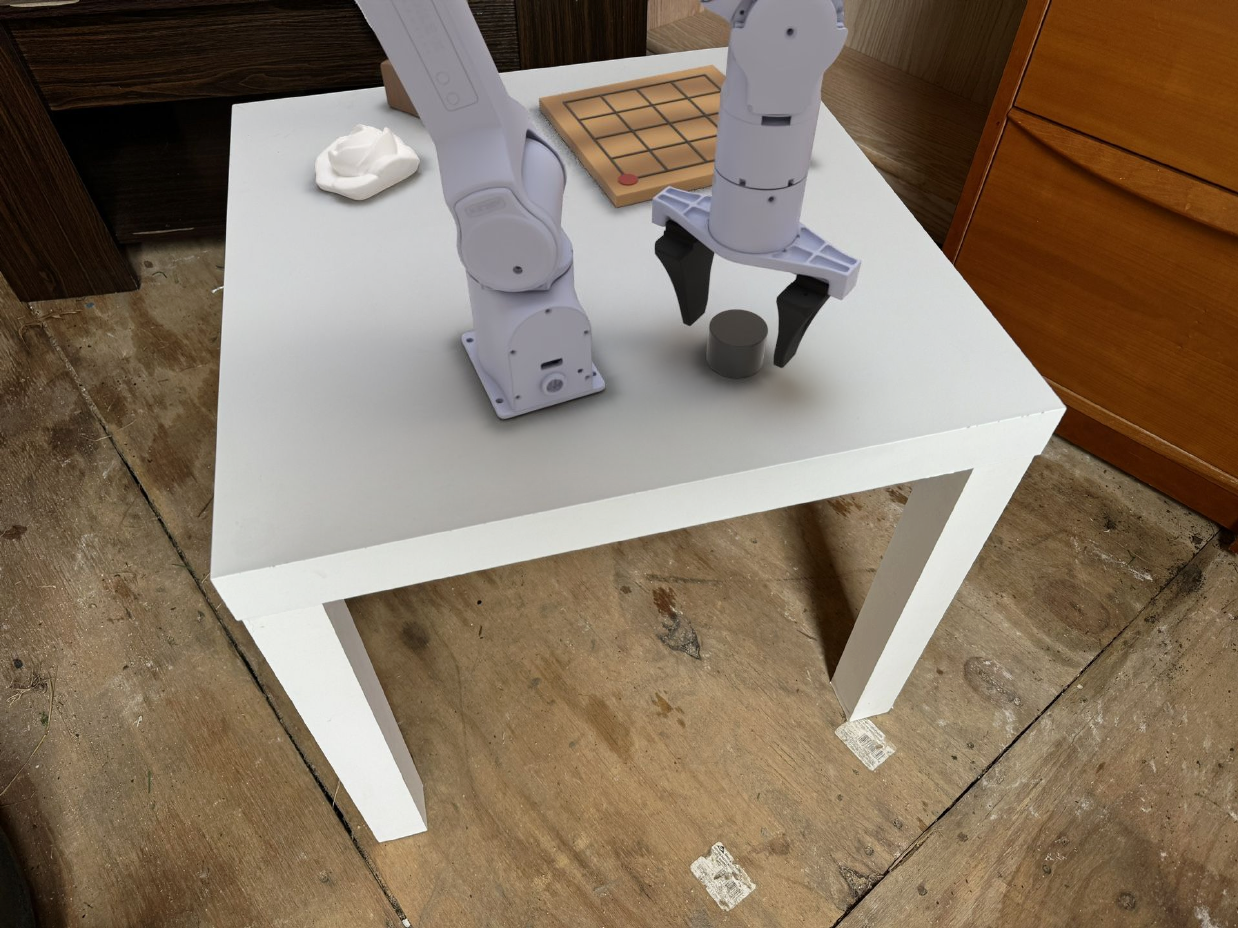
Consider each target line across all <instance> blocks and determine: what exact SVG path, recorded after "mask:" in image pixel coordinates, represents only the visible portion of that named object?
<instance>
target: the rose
mask: <svg viewBox="0 0 1238 928" xmlns="http://www.w3.org/2000/svg"><path fill="white" fill-rule="evenodd" d="M420 162H421V159H420V158H419V157H418V155H417V153H416V152H415V151H414V150H413V148H412V147H410V146H408V145H406V144H405V143H404V141H403V140H402V139H401V138H400V137H399V136H398V135H396V134H394V133H393V132H392V130H391V129H390V128H389V127H384V128H383V130H380V128H376V127H374V126H371V125H368V126H367V125H365V124H362V123H358V124H356V125H354V127H353V128H352V130H351V132H350V134H349V135H342V136H340V137H337V138H336V139H335V140H334V141H333V142H332V143H331V144H330V145H329V146H328V147H326V148H325V149H324V150H323V151H322V152H321V153H320V154H319V155H318V156H317V157H316V160H315V162H314V172H315V175H316V176H315V183H316V185H317V186H318V187H319V188H320V189H321V190H322V191H326V192H330V193H335V194H338V195H340V196H344V197H346V198H348V199H351V200H355V201H364V200H366V199H369V198H371V197H373V196H375V195H377V194H379V193H381V192H382V191H384V190H387V189H388V188H390V187H392V186H394V185H396V184H399V183H400V182H403V181H404V180H406V179H408V178H409V177H410V176H412V175H413V174H414V173H415V172H416V171H418V169H419V168H418V166H419V164H420Z"/></svg>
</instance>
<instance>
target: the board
mask: <svg viewBox="0 0 1238 928" xmlns="http://www.w3.org/2000/svg"><path fill="white" fill-rule="evenodd" d="M725 76H726V74H724V73H723V72H722V71H720V69H718V68H717V66H715V65H714V64H709V65H703V66H699V67H693V68H688V69H684V70H678V71H673V72H668V73H663V74H657V75H652V76H647V77H641V78H636V79H631V80H626V81H621V82H620V81H619V82H616V83H615V82H614V83H611V84H606V85H605V84H604V85H599V86H595V87H590V88H584V89H579V90H575V91H574V90H573V91H569V92H563V93H559V94H554V95H549V96H543V97H539V98H538V104H539V105H538V107H539V108H538V109H539V110H540V111H541V113H542V115H544V117H545V118H546V119H547V121H548V122H549V123H550V124H551V126H552V127H553V128H554V130H555V131H556V133H558V135H559V136H560V137H561V139H562V140H563V141H564V143H565V144H566V145H567V146H568V148H569V149H570V150H571V151H572V153H573V154H574V155H575V157H576V158H577V159H578V160H579V161H580V163H581V164H582V165H583V167H584V168H585V169H586V171H587V172H588V173H589V174H590V176H591V177H592V178H593V179H594V181H595V182H596V183H597V185H598V186H599V187H600V189H601V190H602V191H603V192H604V193H605V195H606V196H607V197H608V199H609V200H610V201H611V202H612V204H613V205H614V206H615V208H621V207H626V206H629V205H633V204H634V205H635V204H638V203H642V202H647V201H650V200H652V199H653V198H654V197H655V196H656V195H658V194H659V193H660V192H662V191H663V190H664V189H666V188H667V187H668V186H670V187H673V188H676V189H679V190H683V191H687V192H690V191H693V190H698V189H702V188H706V187H710V186H711V187H712V183H713V172H714V161H715V150H716V139H717V128H718V116H719V105H720V94H721V88H722V85H723V83H724V80H725Z"/></svg>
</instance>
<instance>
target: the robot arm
mask: <svg viewBox="0 0 1238 928" xmlns="http://www.w3.org/2000/svg"><path fill="white" fill-rule="evenodd" d="M697 1H698V2H699V3H700V5H701V6H702V7H703V8H705V9H706V10H707V11H709V12H711V13H714V14H716V15H718V16H720V17H722V18H723V19H724V20H726V21H727V22H728V23H729V29H730V33H729V34H730V35H729V38H728V44H727V55H726V66H725V67H726V68H725V80H724V83H723V85H722V88H721V94H720V105H719V116H718V128H717V139H716V150H715V161H714V172H713V183H712V185H711V195H709V194H704V193H698V192H691V191H683V190H679V189H676V188H673V187H670V186H668V187H667V188H666V189H664V190H663V191H662V192H660V193H659V194H658V195H656V196H655V197H654V198H653V199H651V200H652V202H651V223H652V224H654V225H656V226H659V227H662V228H665V229H664V230H663V234H662V235H661V236H660V237H659V238H657V239H656V241H655V242H654V255H655V256H656V258H657V259H658V260H659V262H660V263H661V265H662V266H663V268H664V270H665V272H666V273H667V275H668V277H669V279H670V282H671V284H672V287H673V290H674V293H675V296H676V300H677V303H678V306H679V311H680V315H681V319H682V324H684V325H686V326H688V327H691V326H693V325H694V324H695V323H696V322H697V321H698V320H699V319H700V318H701V317H703V315H705V313H706V309H707V306H708V302H709V292H710V284H711V283H710V281H711V273H712V267H713V261H714V257H715V254H716V256H718V257H721V258H722V259H724V260H726V261H728V262H732V263H736V264H740V265H744V266H749V267H750V266H751V267H756V268H762V269H767V270H773V271H779V272H785V273H790V274H792V275H795V279H794V280H793V281H791V282H790V283H789V284H787V286H786V287H785V288H784V289H783V290H782V291H781V292H780V293H779V294H778V295H777V296H776V300H775V304H776V308H777V315H778V320H777V321H778V322H777V323H778V329H777V337H776V342H775V345H774V346H775V347H774V351H773V358H772V360H773V361H772V362H773V366H775V367H777V368H780V369H784V368H785V367H786V365H788V364H789V362H790V361H791V360H792V359H793V358H794V357H795V356H796V355H797V352H798V349H799V347H800V344H801V341H802V340H803V338H804V336H805V334H806V333H807V330H808V329H809V327H810V325H811V324H812V322H813V320H814V319H815V318H816V316H817V314H818V313H819V312H820V311H821V309H822V308H823V306H824V305H825V304H826V303H827V301H828V300H829V299H830V297H831V298H834V299H837V300H839V301H843V300H844V299H845V298H846V297H847V296H848V295H849V294H850V293H851V292H852V290H853V289H854V288H855V287H856V286H857V281H858V277H859V273H860V270H861V265H862V260H861V259H859V258H857V257H854V256H852V255H850V254H848V253H846V252H844V251H843V250H841V249H839V248H838V247H836V246H835V245H833V244H832V243H830V242H829V241H828V240H827V239H825V238H823V237H822V236H821V235H819V234H818V233H816V232H815V231H814V230H812V229H810V228H809V227H808V226H806V224H803V223H802V222H801V221H800V220H801V215H802V208H803V203H804V197H805V193H806V185H807V181H808V174H809V170H810V166H811V165H810V164H811V159H812V154H813V148H814V141H815V136H816V131H817V126H818V120H819V114H820V108H821V103H822V93H821V91H822V85H823V80H824V75H825V72H826V71H827V70H828V69H829V68H830V67H831V66H832V65H833V63H835V61H836V60H837V58H838V57H839V55H840V54H841V52H842V50H843V48H844V46H845V44H846V41H847V38H848V34H849V29H848V28H847V27H845V12H844V7H845V4H844V1H843V0H697ZM357 2H358V4H359V6H360V7H361V10H362V11H363V13H364V15H365V17H366V19H367V21H368V23H369V25H370V27H371V29H372V30H373V32H374V34H375V36H376V38H377V40H378V41H379V43H380V46H381V47H382V50H383V51H384V53H385V55H386V57H387V58H388V59H389V60H390V62H391V64H392V66H393V68H394V69H395V71H396V73H397V75H398V77H399V79H400V81H401V83H402V84H403V86H404V88H405V90H406V92H407V94H408V96H409V98H410V99H411V101H412V103H413V105H414V107H415V109H416V111H417V112H418V114H419V116H420V117H419V118H420V120H421V122H422V123H423V126H424V127H425V129H426V131H427V133H428V135H429V137H430V139H431V141H432V142H433V144H434V147H435V151H436V157H437V162H438V163H437V164H438V169H439V175H440V182H441V188H442V194H443V198H444V202H445V205H446V207H447V209H448V210H449V212H450V214H451V217H452V218H453V220H454V223H455V228H456V251H457V255H458V258H459V261H460V262H461V264H462V266H463V268H464V270H465V277H466V283H467V290H468V295H469V296H468V297H469V303H470V310H471V318H472V324H473V330H471V331H468V332H464V333H463V334H461V343H462V345H463V347H464V349H465V351H466V353H467V355H468V357H469V360H470V361H471V364H472V366H473V368H474V370H475V372H476V374H477V376H478V378H479V380H480V382H481V384H482V386H483V388H484V390H485V392H486V394H487V397H488V399H489V401H490V403H491V405H492V407H493V409H494V411H495V413H496V415H497V417H498V418H499V419H502V420H507V419H510V418H514V417H517V416H520V415H524V414H527V413H530V412H534V411H537V410H540V409H544V408H548V407H550V406H551V407H552V406H554V405H558V404H561V403H565V402H567V401H570V400H574V399H578V398H581V397H585V396H588V395H591V394H595V393H598V392H601V391H603V390H605V388H606V381H605V379H604V378H603V376H602V375H601V373H600V372H599V370H598V368H597V367H596V365H595V363H594V362H593V336H592V335H593V331H592V323H591V321H590V318H589V316H588V315H587V313H586V311H585V310H584V308H583V306H582V304H581V302H580V300H579V297H578V295H577V291H576V287H575V265H574V262H575V261H574V247H573V243H572V241H571V239H570V237H569V236H568V235H567V233H566V231H565V230H564V228H563V227H562V218H563V205H564V204H563V201H564V194H565V190H566V185H567V181H568V176H567V175H568V173H567V172H568V171H567V167H566V162H565V160H564V158H563V156H562V153H560V151H559V149H558V148H557V147H556V146H555V145H554V143H552V142H551V141H550V140H549V139H548V138H547V137H545V136H544V135H542V134H541V133H540V131H539V130H538V129H537V128H536V126H535V125H534V124H533V122H532V120H531V118H530V115H529V113H528V111H527V109H526V107H525V105H523V104H522V103H520V102H519V101H518V100H516V99H514V98H513V97H511V96H510V94H509V93H508V91H507V88H506V87H505V84H504V82H503V80H502V77H501V75H500V73H499V71H498V69H497V67H496V64H495V62H494V60H493V57H492V55H491V53H490V51H489V48H488V46H487V43H486V42H485V40H484V39H485V38H483V35H482V33H481V31H480V28H479V26H478V24H477V21H476V20H475V17H474V15H473V12H472V11H471V8H470V7H469V3H468V4H467V1H466V0H357Z"/></svg>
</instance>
